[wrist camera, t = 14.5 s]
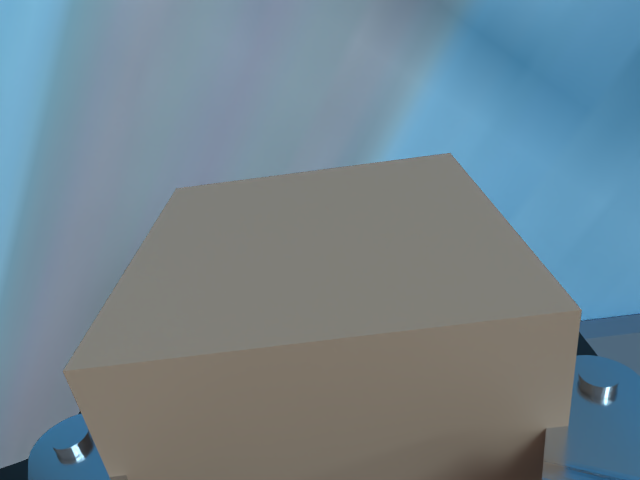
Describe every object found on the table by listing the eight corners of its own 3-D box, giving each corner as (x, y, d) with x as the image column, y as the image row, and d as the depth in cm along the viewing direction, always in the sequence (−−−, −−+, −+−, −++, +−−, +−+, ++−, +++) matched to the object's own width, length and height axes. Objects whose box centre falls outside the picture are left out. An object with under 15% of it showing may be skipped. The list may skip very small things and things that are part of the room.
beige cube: (450, 153, 11) (581, 310, 6) (453, 370, 14) (547, 614, 9) (176, 188, 12) (62, 371, 6) (231, 395, 14) (186, 649, 9)
